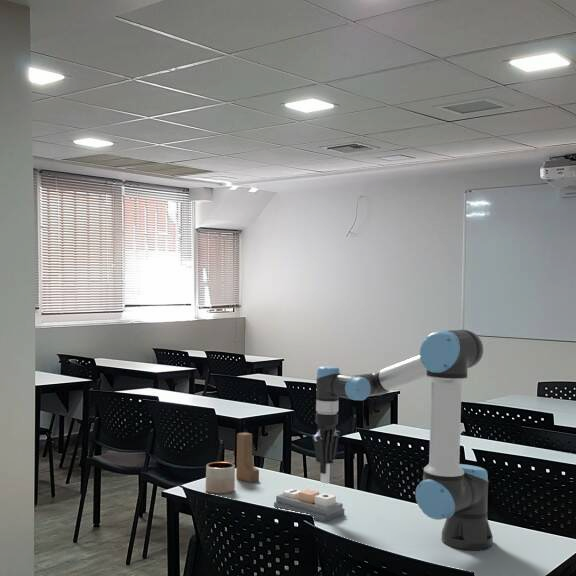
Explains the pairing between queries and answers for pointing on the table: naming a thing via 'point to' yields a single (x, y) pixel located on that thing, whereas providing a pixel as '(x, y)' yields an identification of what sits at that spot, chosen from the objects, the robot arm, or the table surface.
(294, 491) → the bar key
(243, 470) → the wooden block
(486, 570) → the table surface
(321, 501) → the dot key
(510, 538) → the table surface
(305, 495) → the blank key
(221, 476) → the planter
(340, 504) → the keypad
